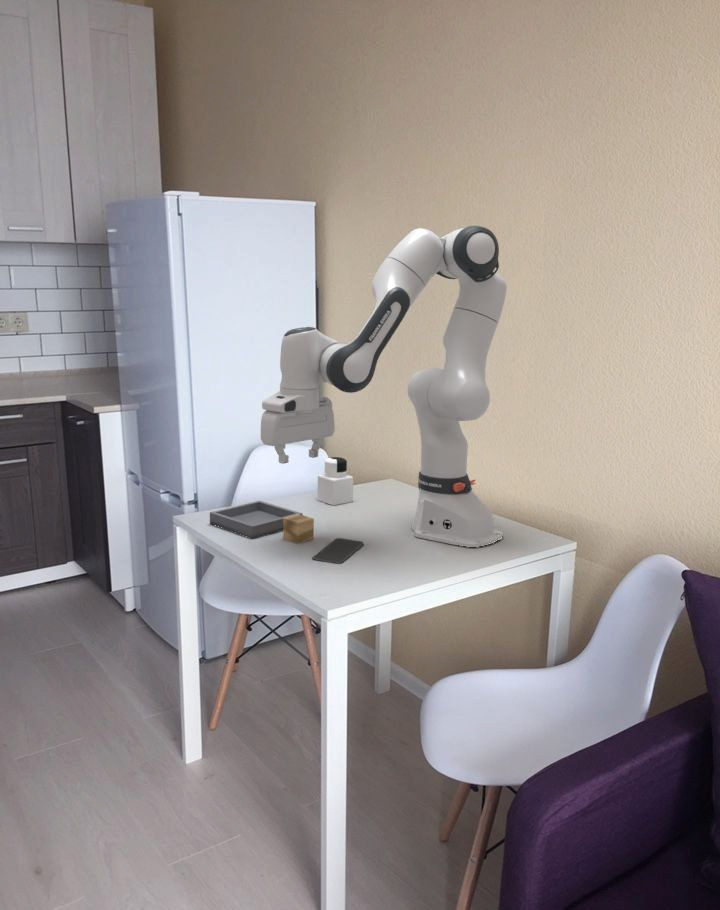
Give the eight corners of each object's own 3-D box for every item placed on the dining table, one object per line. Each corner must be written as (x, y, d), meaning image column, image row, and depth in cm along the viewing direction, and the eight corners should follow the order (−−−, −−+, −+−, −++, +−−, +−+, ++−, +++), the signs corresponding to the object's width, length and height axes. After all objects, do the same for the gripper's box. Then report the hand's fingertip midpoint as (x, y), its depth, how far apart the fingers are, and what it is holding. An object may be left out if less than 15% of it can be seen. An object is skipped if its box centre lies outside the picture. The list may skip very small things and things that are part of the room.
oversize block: (313, 539, 189) (313, 518, 188) (298, 543, 185) (298, 522, 184) (298, 534, 192) (298, 514, 191) (283, 538, 189) (283, 518, 187)
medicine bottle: (337, 496, 227) (338, 454, 224) (353, 501, 221) (354, 459, 219) (316, 500, 222) (317, 457, 220) (332, 505, 217) (333, 462, 214)
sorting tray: (302, 525, 199) (302, 513, 198) (252, 539, 187) (252, 526, 187) (259, 511, 210) (259, 500, 209) (209, 524, 198) (209, 512, 197)
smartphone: (309, 558, 174) (336, 537, 188) (309, 562, 175) (335, 541, 188) (341, 563, 172) (365, 541, 186) (341, 567, 172) (365, 545, 186)
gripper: (322, 394, 191) (321, 451, 194) (256, 402, 177) (256, 464, 179) (341, 397, 187) (340, 455, 190) (275, 405, 172) (275, 468, 175)
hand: (298, 460), depth 185 cm, fingers open, 8 cm apart
